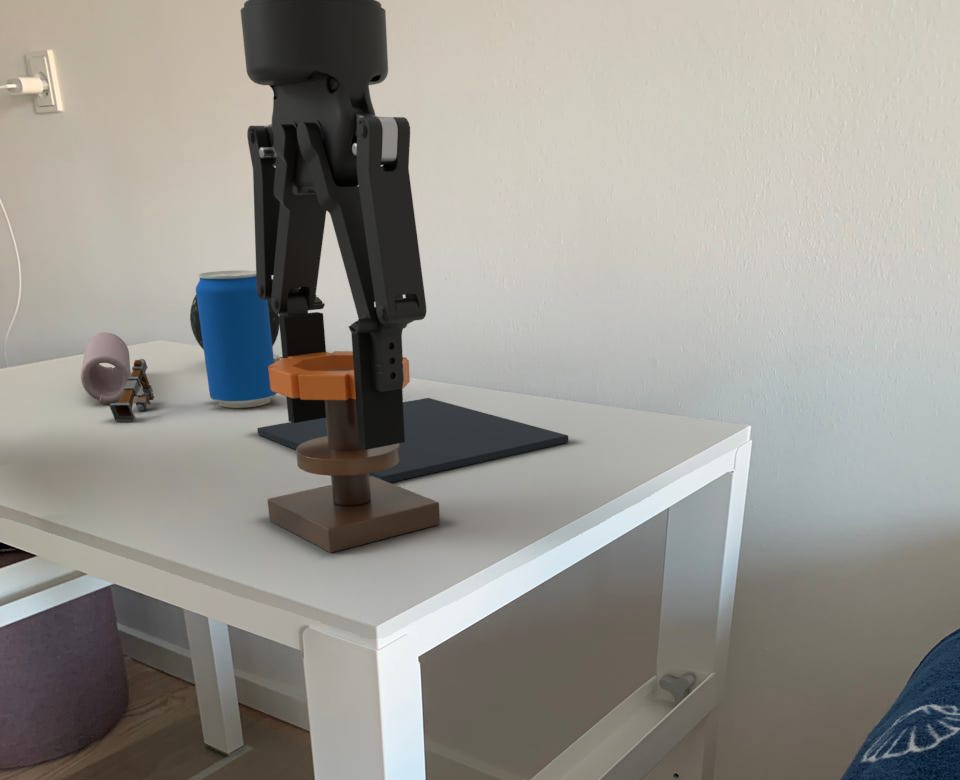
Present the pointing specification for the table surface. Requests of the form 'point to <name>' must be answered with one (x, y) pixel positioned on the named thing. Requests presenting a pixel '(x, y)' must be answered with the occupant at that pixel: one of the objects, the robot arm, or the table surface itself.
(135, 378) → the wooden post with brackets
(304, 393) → the ring
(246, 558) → the table surface
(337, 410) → the stand
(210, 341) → the beverage can
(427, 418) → the mat
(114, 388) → the pink tube
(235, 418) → the table surface
